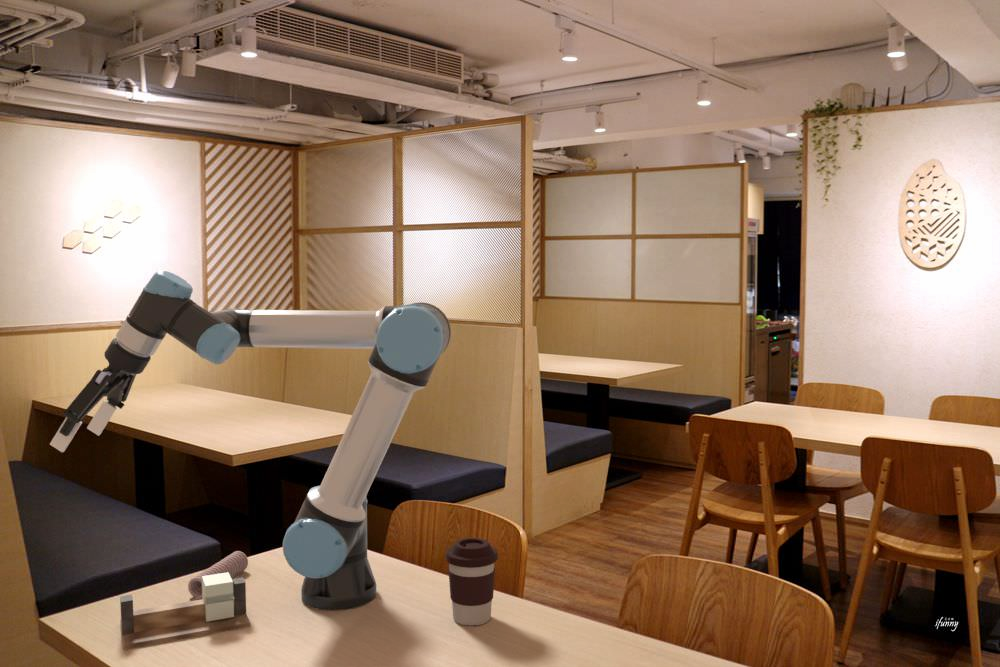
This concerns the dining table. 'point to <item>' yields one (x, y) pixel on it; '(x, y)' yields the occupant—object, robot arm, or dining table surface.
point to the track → (184, 631)
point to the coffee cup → (471, 580)
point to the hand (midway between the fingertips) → (75, 439)
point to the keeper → (218, 596)
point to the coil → (219, 571)
